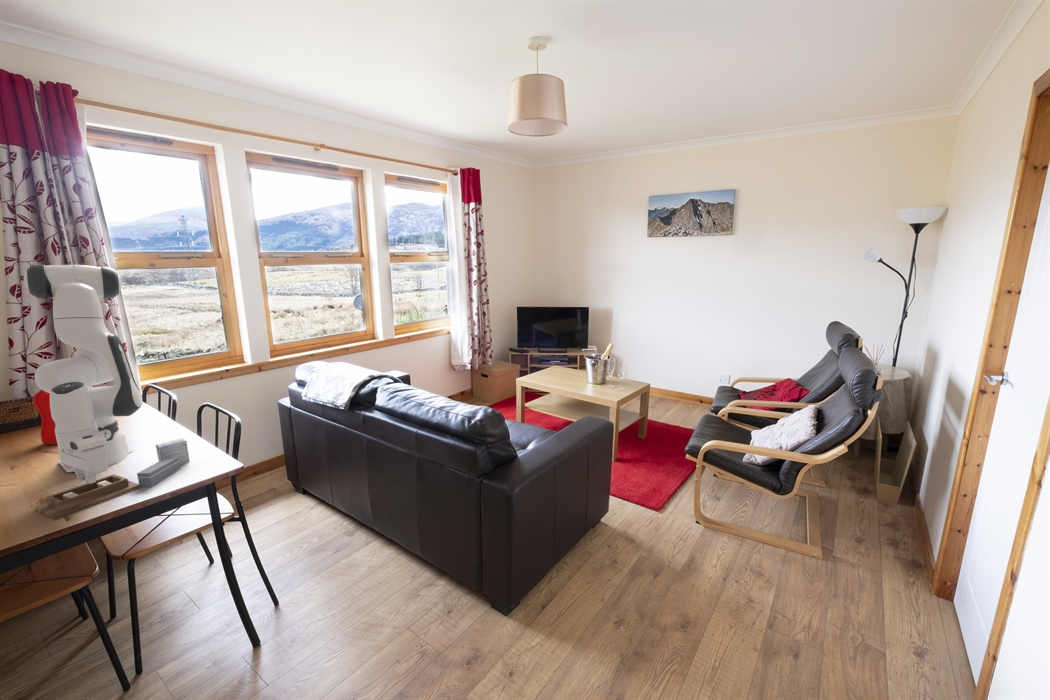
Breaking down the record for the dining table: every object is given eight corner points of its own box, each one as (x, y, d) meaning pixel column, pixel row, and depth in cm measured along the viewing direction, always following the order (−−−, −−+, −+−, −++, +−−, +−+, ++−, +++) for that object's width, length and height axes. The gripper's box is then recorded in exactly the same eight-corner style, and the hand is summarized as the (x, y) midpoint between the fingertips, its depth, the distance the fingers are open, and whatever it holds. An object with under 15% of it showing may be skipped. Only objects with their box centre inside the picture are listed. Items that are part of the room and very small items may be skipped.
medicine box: (186, 460, 163) (183, 437, 161) (190, 463, 160) (186, 440, 159) (159, 467, 157) (155, 444, 155) (162, 471, 154) (158, 447, 153)
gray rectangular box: (139, 488, 143) (136, 473, 142) (168, 471, 155) (166, 457, 154) (152, 487, 143) (149, 473, 142) (180, 470, 155) (178, 457, 154)
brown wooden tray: (35, 510, 130) (33, 498, 129) (120, 480, 148) (118, 470, 147) (55, 519, 125) (52, 508, 124) (140, 487, 143) (138, 477, 142)
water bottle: (87, 435, 187) (76, 377, 183) (58, 446, 177) (45, 384, 172) (68, 435, 188) (56, 376, 184) (37, 445, 178) (24, 383, 173)
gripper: (47, 435, 134) (56, 478, 137) (81, 447, 126) (90, 492, 128) (75, 428, 140) (83, 470, 143) (109, 439, 131) (117, 483, 134)
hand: (87, 481), depth 135 cm, fingers open, 4 cm apart
